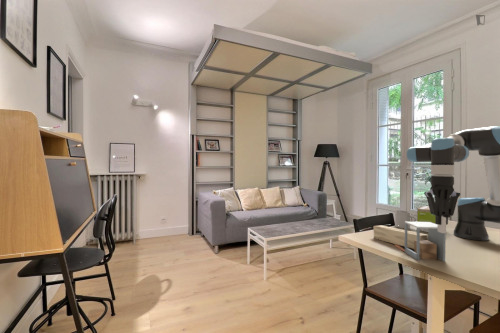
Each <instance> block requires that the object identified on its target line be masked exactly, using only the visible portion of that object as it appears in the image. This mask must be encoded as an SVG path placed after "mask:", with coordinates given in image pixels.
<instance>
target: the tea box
mask: <svg viewBox="0 0 500 333" xmlns="http://www.w3.org/2000/svg"><path fill="white" fill-rule="evenodd" d="M416 211H417V212H416V213H417V216H416V217H417V218H416V222H431V223H434V224H436V216H435V215H433V214H431V213H430V209H429V205H428V206H426V205H423V206H421V207H418V208H417V210H416ZM437 225H438V224H437ZM421 231H422V232H427V233H428V228H420V232H421Z"/></svg>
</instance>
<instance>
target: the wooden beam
mask: <svg viewBox="0 0 500 333" xmlns="http://www.w3.org/2000/svg"><path fill="white" fill-rule="evenodd" d="M375 238H376V240H378V239H379V241H383V242H387V243H389V244H390V243H391V244H394V245H395V244H397V245H401V246H405V229H403V228H398V227H390V226H386V225H373V239H375ZM414 240H417V231H412V230H411V231H410V230H407V247H409V248H412V249H414ZM420 240H428V233H421V232H420Z"/></svg>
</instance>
